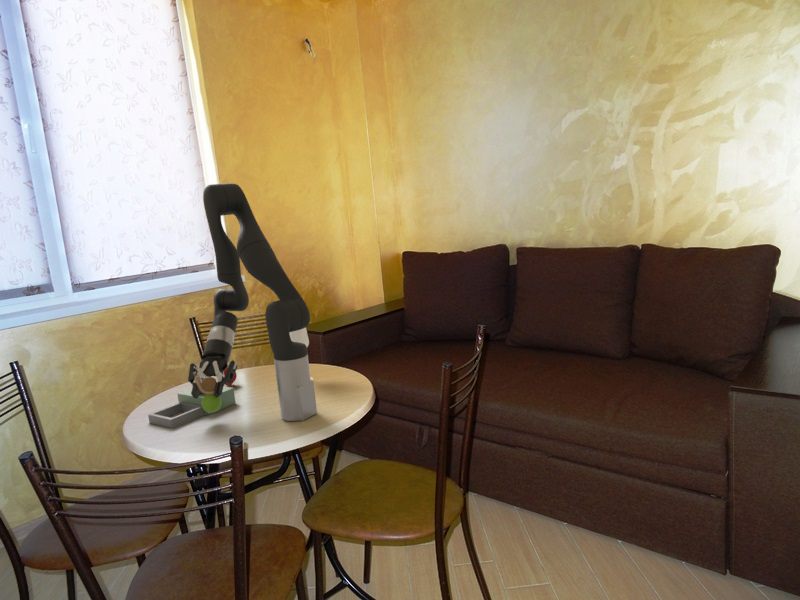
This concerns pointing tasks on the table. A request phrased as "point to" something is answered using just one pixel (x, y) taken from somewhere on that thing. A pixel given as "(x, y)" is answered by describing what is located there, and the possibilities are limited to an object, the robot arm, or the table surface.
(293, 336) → the champagne flute
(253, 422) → the table surface
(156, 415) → the box with drawer
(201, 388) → the snail figurine
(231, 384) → the onion
